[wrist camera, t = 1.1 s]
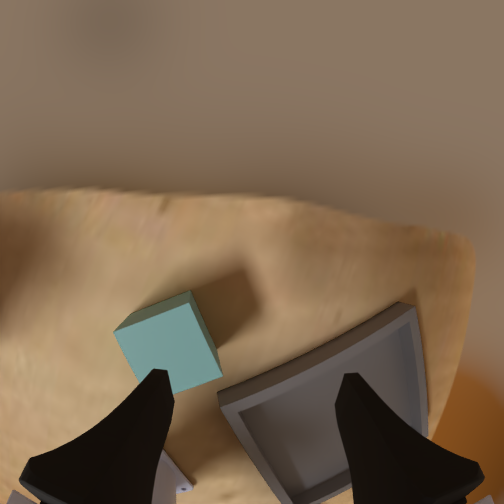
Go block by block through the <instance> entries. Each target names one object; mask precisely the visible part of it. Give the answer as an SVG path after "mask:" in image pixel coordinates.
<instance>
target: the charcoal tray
mask: <svg viewBox="0 0 504 504" xmlns="http://www.w3.org/2000/svg"><path fill="white" fill-rule="evenodd" d="M356 372H358V373H359V374H360V375H361V376H362V377H363V379H364V380H365V381H366V382H367V383H368V384H369V385H370V387H371V388H372V389H373V390H374V391H375V392H376V393H377V394H378V396H379V397H380V398H381V399H382V400H383V401H384V402H385V403H386V404H387V405H388V406H389V407H390V408H391V409H392V410H393V411H394V412H395V413H396V414H397V415H398V416H399V417H400V418H401V419H402V420H403V421H405V422H406V423H407V424H408V425H409V426H411V427H412V428H413V429H414V430H416V431H417V432H418V433H420V434H421V435H423V436H424V437H425V438H426V437H427V436H428V406H427V390H426V378H425V368H424V359H423V351H422V343H421V336H420V330H419V324H418V318H417V313H416V307H415V306H413V305H409V304H405V303H402V302H397V303H395V304H394V305H392V306H390V307H389V308H387V309H386V310H384V311H382V312H381V313H379V314H377V315H376V316H374V317H372V318H371V319H369V320H367V321H366V322H364V323H362V324H360V325H359V326H357V327H355V328H353V329H352V330H350V331H348V332H346V333H344V334H342V335H341V336H339V337H337V338H335V339H333V340H331V341H329V342H328V343H326V344H324V345H322V346H320V347H318V348H316V349H314V350H312V351H310V352H308V353H306V354H304V355H302V356H300V357H298V358H296V359H294V360H291V361H289V362H287V363H285V364H283V365H281V366H279V367H276V368H274V369H272V370H270V371H267V372H265V373H263V374H261V375H258V376H256V377H254V378H251V379H249V380H246V381H244V382H242V383H239V384H237V385H234V386H232V387H229V388H227V389H224V390H221V391H219V392H217V395H218V400H219V405H220V409H221V410H222V412H223V414H224V416H225V417H226V419H227V421H228V423H229V424H230V426H231V428H232V429H233V431H234V433H235V434H236V436H237V438H238V439H239V441H240V443H241V444H242V446H243V447H244V449H245V451H246V452H247V454H248V455H249V457H250V459H251V460H252V462H253V463H254V465H255V466H256V468H257V469H258V471H259V472H260V474H261V475H262V477H263V478H264V480H265V481H266V483H267V484H268V486H269V487H270V488H271V490H272V491H273V493H274V494H275V495H276V497H277V498H278V500H279V501H280V502H281V504H320V503H322V502H324V501H326V500H328V499H330V498H332V497H334V496H336V495H338V494H340V493H342V492H344V491H346V490H348V489H350V488H351V487H352V482H351V474H350V469H349V465H348V461H347V458H346V454H345V450H344V447H343V443H342V440H341V436H340V433H339V429H338V425H337V419H336V413H335V405H334V404H335V401H336V398H337V395H338V392H339V389H340V386H341V383H342V380H343V376H344V373H356Z"/></svg>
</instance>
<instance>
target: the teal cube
mask: <svg viewBox="0 0 504 504" xmlns="http://www.w3.org/2000/svg"><path fill="white" fill-rule="evenodd" d="M113 333H114V335H115V337H116V339H117V341H118V343H119V345H120V347H121V349H122V351H123V353H124V355H125V357H126V359H127V361H128V363H129V365H130V366H131V368H132V370H133V372H134V374H135V376H136V377H137V379H138V381H139V383H141V382H142V380H143V379H144V378H145V377H146V376H147V375H148V374H149V372H150V371H151V370H152V369H154V368H155V369H163V370H168V375H169V379H170V384H171V388H172V392H173V394H176V393H178V392H181V391H184V390H187V389H190V388H193V387H196V386H198V385H201V384H204V383H206V382H209V381H212V380H214V379H217V378H219V377H222V376H223V374H222V370H221V366H220V361H219V357H218V353H217V349H216V347H215V345H214V342H213V340H212V338H211V336H210V334H209V331H208V329H207V327H206V325H205V323H204V320H203V318H202V316H201V313H200V311H199V309H198V307H197V304H196V302H195V300H194V297H193V295H192V292H191V290H189V291H187V292H184V293H182V294H179V295H177V296H174V297H172V298H169V299H167V300H164V301H162V302H159V303H157V304H154V305H152V306H149V307H147V308H144V309H142V310H139V311H137V312H134V313H131V314H130V315H129V316H128V317H127V318H126V319H125V320H124V321H123V322H122V323H121V324H120V325H119V326H118V327H117V328H116V330H115V331H114V332H113Z"/></svg>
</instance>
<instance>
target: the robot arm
mask: <svg viewBox="0 0 504 504" xmlns="http://www.w3.org/2000/svg"><path fill="white" fill-rule="evenodd" d="M174 403H175V401H174V397H173V392H172V388H171V384H170V379H169V375H168V370H163V369H155V368H154V369H152V370H151V371H150V372H149V374H148V375H147V376H146V377H145V378H144V379H143V380H142V382H141V383H140V384H139V385H138V386H137V387H136V388H135V389H134V390H133V391H132V392H131V394H130V395H129V396H128V397H127V398H126V399H125V400H124V401H123V402H122V403H121V404H120V405H119V406H118V407H116V408H115V409H114V410H113V411H112V412H111V413H110V414H109V415H108V416H107V417H105V418H104V419H103V420H102V421H100V422H99V423H98V424H97V425H95V426H94V427H93V428H91V429H90V430H88V431H87V432H85V433H84V434H82V435H81V436H79V437H77V438H76V439H74V440H72V441H70V442H68V443H66V444H64V445H62V446H60V447H58V448H56V449H54V450H52V451H49V452H46V453H43V454H41V455H38V456H35V457H31V458H30V459H29V460H28V462H27V464H26V466H25V468H24V470H23V472H22V474H21V476H20V478H19V482H20V484H21V485H22V486H23V487H25V488H26V489H27V490H28V491H29V492H30V493H32V494H33V495H34V496H35V497H37V498H38V499H39V500H41V502H40V504H176V494H178V493H182V492H187V491H191V490H193V485H192V484H191V483H190V481H189V480H188V479H187V478H186V477H185V476H184V474H183V473H182V472H181V471H180V470H179V468H178V467H177V466H176V465H175V463H174V462H173V461H172V460H171V458H170V457H169V456H168V455H167V453H166V452H165V451H164V449H163V446H164V443H165V440H166V437H167V434H168V430H169V427H170V424H171V420H172V414H173V409H174ZM334 405H335V413H336V419H337V425H338V429H339V433H340V436H341V440H342V443H343V447H344V450H345V454H346V458H347V461H348V465H349V469H350V474H351V482H352V490H353V500H354V504H466V503H467V500H466V498H465V496H466V495H468V494H469V493H470V492H471V491H473V490H474V489H475V488H476V487H478V486H479V485H480V484H481V483H482V482H483V480H484V478H485V476H484V474H483V472H482V470H481V468H480V466H479V464H478V462H475V461H472V460H470V459H467V458H464V457H461V456H459V455H456V454H454V453H452V452H450V451H448V450H446V449H444V448H442V447H440V446H438V445H436V444H435V443H433V442H432V441H430V440H429V439H427V438H425V437H424V436H423V435H421V434H420V433H418V432H417V431H416V430H414V429H413V428H412V427H411V426H409V425H408V424H407V423H406V422H405V421H403V420H402V419H401V418H400V417H399V416H398V415H397V414H396V413H395V412H394V411H393V410H392V409H391V408H390V407H389V406H388V405H387V404H386V403H385V402H384V401H383V400H382V399H381V398H380V397H379V396H378V394H377V393H376V392H375V391H374V390H373V389H372V388H371V387H370V385H369V384H368V383H367V382H366V381H365V380H364V379H363V377H362V376H361V375H360V374H359V373H358V372H356V373H344V376H343V380H342V383H341V386H340V389H339V392H338V395H337V398H336V401H335V404H334ZM7 504H37V503H35V502H33V501H32V500H30V499H28V498H27V497H25V496H24V495H22V494H20V493H19V492H17V491H16V490H12V493H11V495H10V497H9V499H8V501H7ZM475 504H494V502H493V500H492V498H491V496H490V495H488V496H486V497H485V498H483V499H481V500H480V501H478V502H476V503H475Z"/></svg>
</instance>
